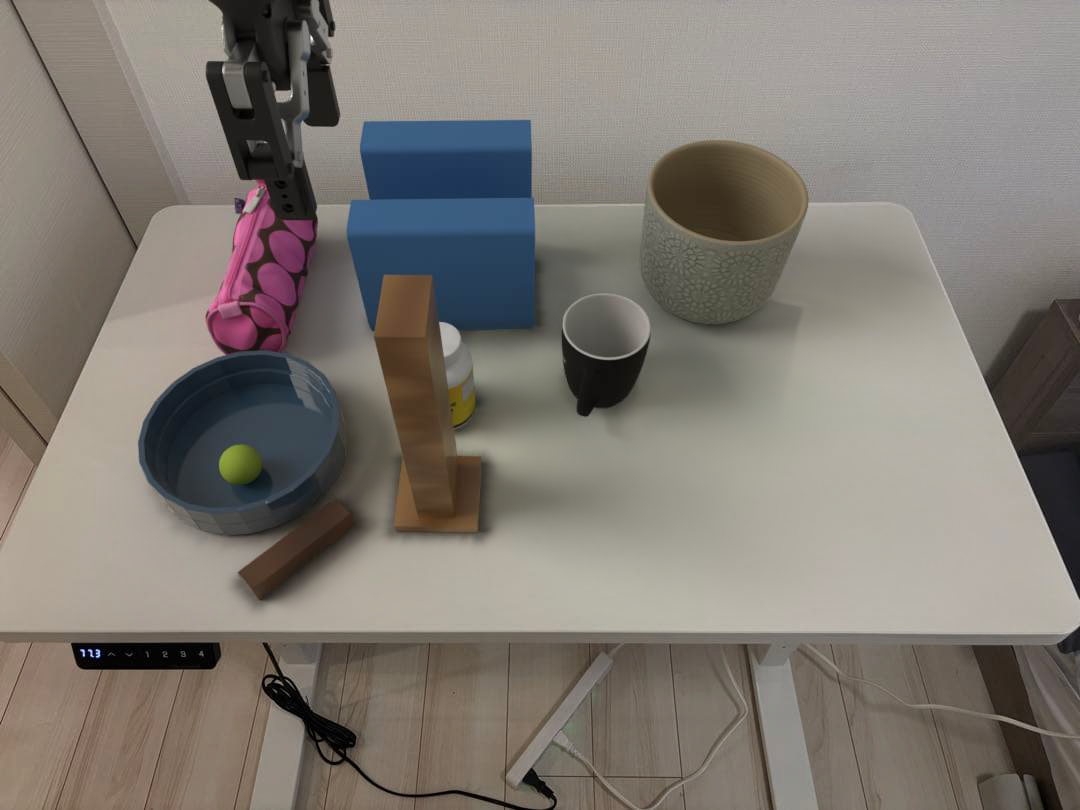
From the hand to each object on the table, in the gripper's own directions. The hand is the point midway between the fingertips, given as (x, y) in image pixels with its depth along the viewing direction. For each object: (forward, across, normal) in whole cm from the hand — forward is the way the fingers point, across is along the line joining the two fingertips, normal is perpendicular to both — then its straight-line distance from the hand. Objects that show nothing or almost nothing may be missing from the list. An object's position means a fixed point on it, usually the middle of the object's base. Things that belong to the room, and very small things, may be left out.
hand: (311, 167), depth 47 cm
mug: (+40, -13, +20) cm, 46 cm away
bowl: (+40, -5, -16) cm, 43 cm away
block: (+40, -28, +4) cm, 49 cm away
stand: (+40, 0, +4) cm, 40 cm away
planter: (+40, -29, +34) cm, 60 cm away
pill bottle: (+40, -11, +4) cm, 42 cm away
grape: (+37, -2, -16) cm, 40 cm away
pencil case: (+40, -27, -18) cm, 51 cm away
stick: (+37, +6, -9) cm, 39 cm away
